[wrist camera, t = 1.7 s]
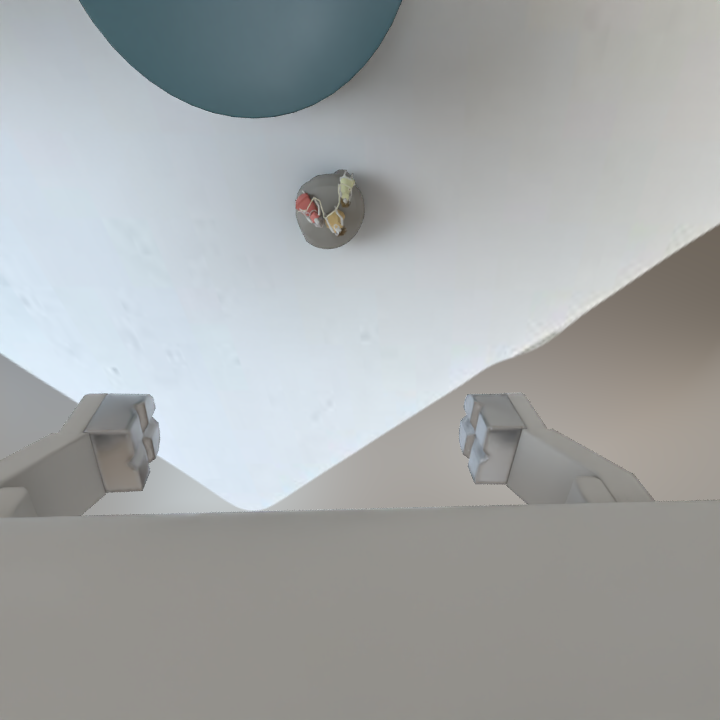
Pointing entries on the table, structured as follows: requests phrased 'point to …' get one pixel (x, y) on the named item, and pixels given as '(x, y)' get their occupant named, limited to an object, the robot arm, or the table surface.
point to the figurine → (330, 209)
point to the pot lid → (245, 48)
